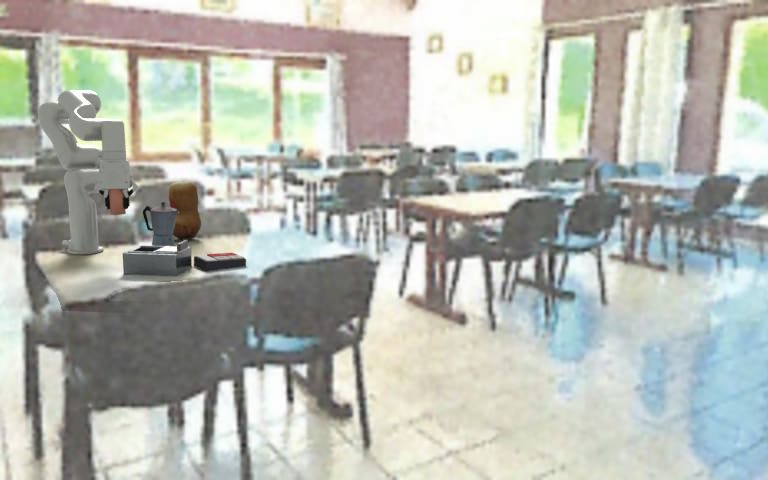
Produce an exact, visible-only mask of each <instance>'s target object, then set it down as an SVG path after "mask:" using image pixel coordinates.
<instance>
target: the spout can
mask: <svg viewBox="0 0 768 480" xmlns="http://www.w3.org/2000/svg"><path fill="white" fill-rule="evenodd" d="M124 196H125V195H124V193H123V190H122V189H113V190H109V201H110V209H109V213H110V215H111V216H115V215H116V216H118V215H119V216H120V215H126V214H127V211H126V210H127V209H124V201H123V198H124Z"/></svg>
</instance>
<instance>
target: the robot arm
mask: <svg viewBox="0 0 768 480" xmlns="http://www.w3.org/2000/svg"><path fill="white" fill-rule="evenodd" d="M101 107H102V102H101V98H100V96H99V95H98V93H97V92H95V91H92V90H80V89H79V90H78V89H77V90H76V89H71V90H70V89H69V90H68V89H67V90H64V91H62V92H61V93H59V94H58V97H57V101H46V102H44V103H42V104H41V105H40V106H39V108H38V112H37V113H38V122H39V124H40V127H41V129H42V131H43V133H44V134H45V135H46V137H47V138H48V139H49V140H50V142H51V145H52V146H53V149H54V152H55V153H56V154H55V155H56V156H57V159H58V161H59V163H60V165H61V167H62V168H63V169H64V170H67V171H66V172H65V174H64V176H63V183H64V187H65V190H66V197H67V202H68V215H69V216H68V217H69V218H68V219H69V232H70V239H69V240H62V242H61V246H62V247H68V248H67V250H66V253H68V254H69V255H78V254H79V255H93V254H98V253H101V252H103V251H104V247H103V246H100V244H99V228H98V212H97V211H98V210H97V204H96V202H95V201H94V199H93V198H92V197H91V196H90V194H98V193H99V194H100V195H102V197H103V198H104V204H105V207H106V209H107V210H110V201H109V190H113V189H122V190H123V193H124V195H125V196H124V198H123V201H124V209H126V210H128V209H129V207H130V203H131V201H130V197H131V196H132V195H133V194H134V192H136V191H138V189H139V188H140V187H139V185H138V184H137V183H136V182H135V181H134V180H133V178H132V175H133V174H132V171H131V165H130V161H129V160H128V159H127V148H126V147H127V145H126V134H125V133H126V132H125V131H126V129H125V123H124V121H123V120H121V119H110V118H96V117H97V114H98V113H99V112H100V111H101ZM64 125H69V129H68V128H67V127H65V126H64ZM77 139H79V140H81V141H83V142H101V148H100V146H98V145H95V144H79V142H78V140H77ZM130 188H131V189H130Z"/></svg>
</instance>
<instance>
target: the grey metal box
mask: <svg viewBox="0 0 768 480" xmlns="http://www.w3.org/2000/svg"><path fill="white" fill-rule="evenodd" d="M163 247H165V246H152V245H147V244H146V245H145V244H142V245H138V246H136V247H134V248H132V249H129V250H126V251H125V252H122V267H123V268H122V270H123V271H122V272H123V275H136V276H137V275H142V276H146V275H147V276H167V277H168V276H169V277H178V276H179V275H181V274H182V273H184V272H185V271H187V270H189V269H190V268H192V267H193V265H192V247H191V246H188V247H189V248H188V249H186V250H185V251H183V252H181V253H171V252H156V251H157V250H159V249H161V248H163Z"/></svg>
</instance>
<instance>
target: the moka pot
mask: <svg viewBox="0 0 768 480" xmlns="http://www.w3.org/2000/svg"><path fill="white" fill-rule="evenodd" d="M160 203H161V204H160V205H161V206H157V207H155V206H149V205H145V208H143V210H142V216H143V218H144V221H145V226H146V228H147V231H150V232H153V235H152V240H151V241H152V242H151V246H176V245H175V236H174V235H173V229H174V227H175V219H176V217H177V214H178V213H179V212H178V211H177V209H174V208H171V206H170V207H169V206H166V204H167V203H166V202H165V201H163V202H160ZM147 211H148V212H150V220H151V227H150V224H149V219H148V216H147Z"/></svg>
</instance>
